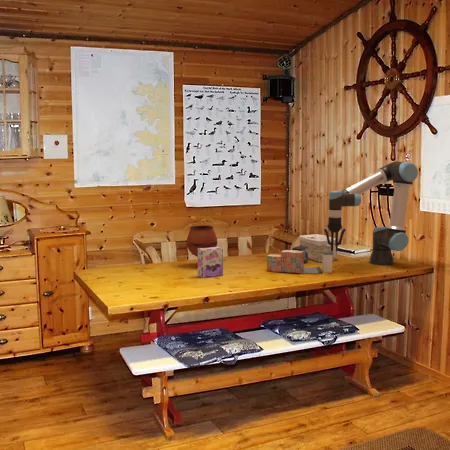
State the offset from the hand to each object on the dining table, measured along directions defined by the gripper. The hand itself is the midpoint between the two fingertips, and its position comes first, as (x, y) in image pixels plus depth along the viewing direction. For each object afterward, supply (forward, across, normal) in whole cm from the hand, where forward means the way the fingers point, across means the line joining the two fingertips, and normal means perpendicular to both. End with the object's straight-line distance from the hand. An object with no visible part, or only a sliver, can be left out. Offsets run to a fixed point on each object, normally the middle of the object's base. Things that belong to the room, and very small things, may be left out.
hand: (334, 256), depth 343 cm
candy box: (+10, +73, +14) cm, 75 cm away
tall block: (+9, +4, 0) cm, 10 cm away
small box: (+9, +18, -24) cm, 31 cm away
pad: (+9, +14, 0) cm, 17 cm away
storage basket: (+9, +4, -39) cm, 40 cm away
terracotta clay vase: (+10, +80, -14) cm, 82 cm away
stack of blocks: (+9, +29, +2) cm, 30 cm away
